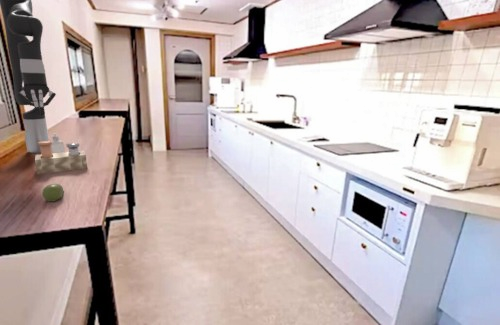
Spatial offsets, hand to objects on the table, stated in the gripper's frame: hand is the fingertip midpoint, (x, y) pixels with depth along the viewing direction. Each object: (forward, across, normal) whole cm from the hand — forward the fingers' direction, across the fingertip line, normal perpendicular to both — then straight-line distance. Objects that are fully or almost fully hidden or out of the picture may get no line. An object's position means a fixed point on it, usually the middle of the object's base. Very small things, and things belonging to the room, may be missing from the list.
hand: (41, 116), depth 117 cm
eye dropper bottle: (+23, -3, -20) cm, 31 cm away
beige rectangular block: (+23, -5, 0) cm, 23 cm away
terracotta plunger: (+21, 0, 0) cm, 21 cm away
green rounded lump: (+23, -1, +35) cm, 42 cm away
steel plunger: (+23, -10, 0) cm, 25 cm away
